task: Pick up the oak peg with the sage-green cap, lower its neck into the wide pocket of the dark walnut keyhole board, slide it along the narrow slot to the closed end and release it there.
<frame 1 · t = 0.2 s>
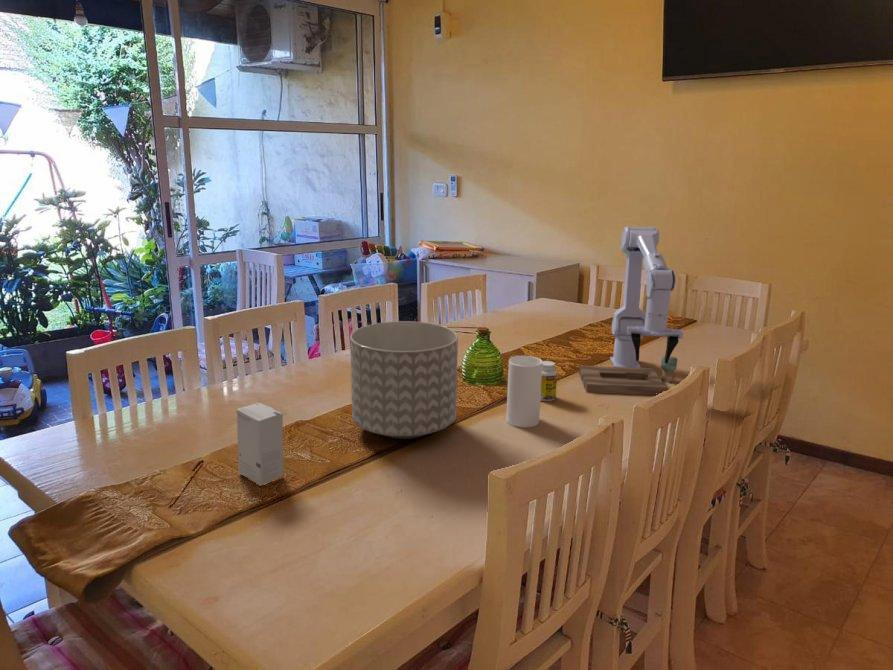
hand: (651, 361, 183), 10 cm above the table, fingers open, 7 cm apart
keyhole board: (620, 383, 194), on the table
supplement bottle: (545, 399, 181), on the table
pen: (187, 485, 134), on the table
planter: (404, 430, 160), on the table
cup: (522, 421, 167), on the table
skincare box: (262, 477, 137), on the table
peg: (666, 380, 197), on the table
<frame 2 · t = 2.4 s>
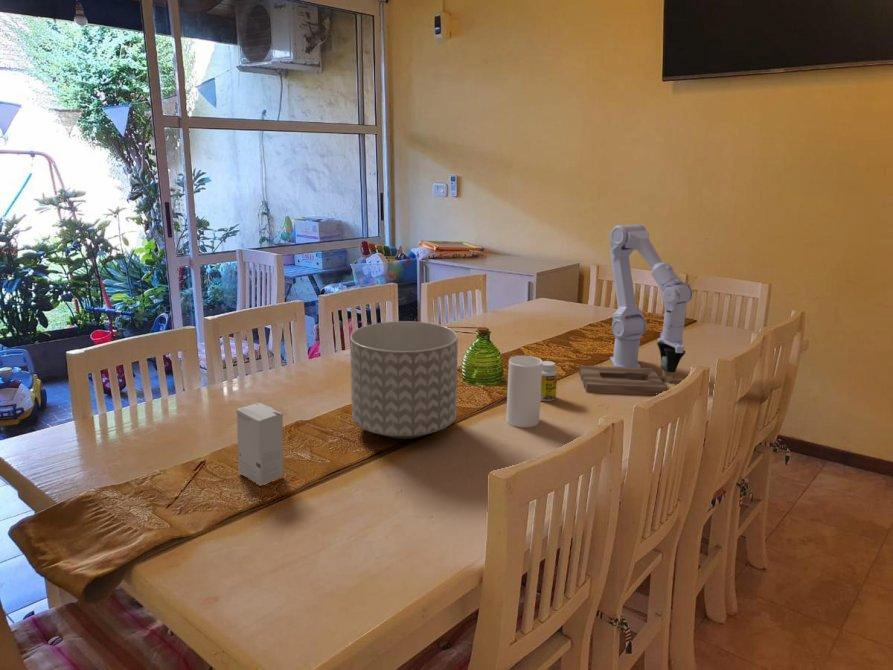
hand: (668, 368, 196), 4 cm above the table, fingers closed on peg, 4 cm apart
peg: (667, 380, 197), on the table, touching gripper
everything else where it was.
when the fingers open (4 cm above the table, at t = 8.4 s): peg stays where it is, resting in keyhole board.
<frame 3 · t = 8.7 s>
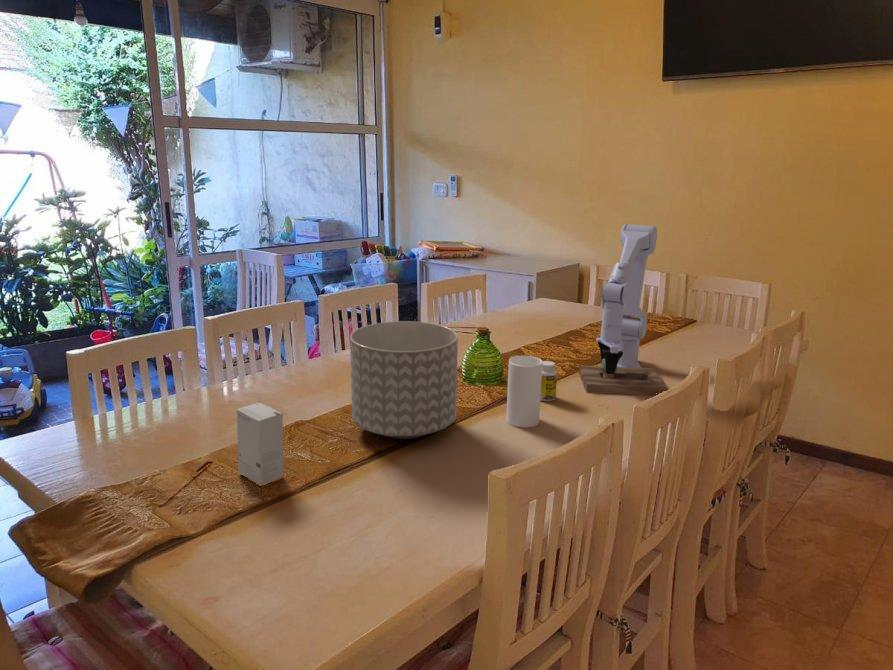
hand: (607, 369, 193), 4 cm above the table, fingers open, 7 cm apart
peg: (607, 383, 194), resting in keyhole board
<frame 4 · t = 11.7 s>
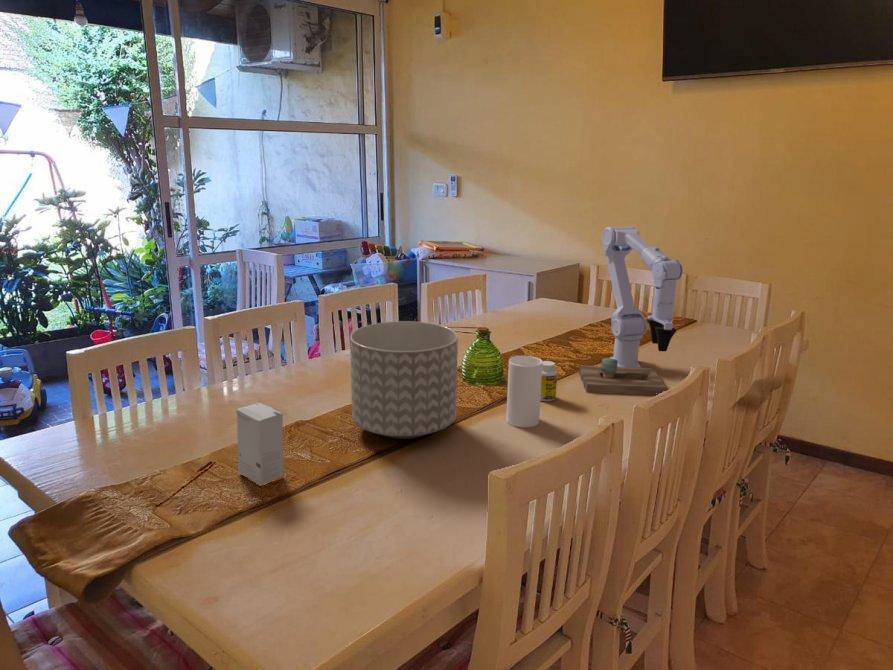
hand: (659, 347, 194), 10 cm above the table, fingers open, 7 cm apart
at the end: peg 0.5 cm from the target spot on the keyhole board, point 0.0 cm above the keyhole board's base; peg tilted 0°; the gripper is holding nothing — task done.
